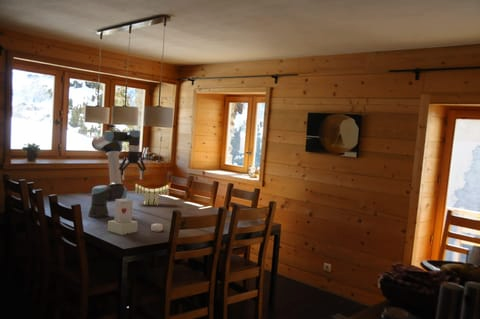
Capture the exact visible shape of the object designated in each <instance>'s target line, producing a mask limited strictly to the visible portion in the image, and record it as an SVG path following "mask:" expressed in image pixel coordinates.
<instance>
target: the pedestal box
mask: <svg viewBox="0 0 480 319" xmlns="http://www.w3.org/2000/svg"><path fill="white" fill-rule="evenodd" d="M138 226H139V222H138V221H136V220H133V219H132V222H124V223H119V222H117V221H115V220H114V219H112V220H108V221H107V231H108V232H111V233H114V234H117V235H121V236H122V235H127V233H128V234H132V233H136V232H138V229H139V228H138Z"/></svg>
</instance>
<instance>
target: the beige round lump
mask: <svg viewBox="0 0 480 319" xmlns="http://www.w3.org/2000/svg"><path fill="white" fill-rule="evenodd" d="M163 227H164V225H163V224H162V223H156V222H155V223H151V226H150V231H152V232H156V233H157V232H162V231H163Z"/></svg>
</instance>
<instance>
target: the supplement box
mask: <svg viewBox="0 0 480 319" xmlns="http://www.w3.org/2000/svg"><path fill="white" fill-rule="evenodd" d="M114 203H115V204H114V219H113V220H115V221H117V222H119V223H124V222H132V220H133V219H132V218H133V203H134V201H133V200H132V199H129V198H125V199H116V200H115V202H114Z"/></svg>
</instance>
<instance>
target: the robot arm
mask: <svg viewBox="0 0 480 319" xmlns="http://www.w3.org/2000/svg"><path fill="white" fill-rule="evenodd" d="M140 140H141V131H140V130H136V129H130V130H129V131H115V130H105V131H104V134H102V135H101V136H96V137H94V138H93V139H92V142H91V146H92V148H93V149H94V150H95V151H97V152H105V155H106V156H107V163H108V172H109V174H108V175H109V184H108V185H105V184H103V185H96V186H94V187H92V189H91V203H90V208H89V211H88V215H87V216H88V217H91V218H107V217H109V214H110V213H109V209H108V203H115V200H116V199H127V195H128V194H127V193H128V189H127V187H126V186H124V183H123V182H122V180H123V181H124V180H125V169H127V168H128V166H129V165H130V164H132V165H133V164H134V165H135V164H136V166H137V167H138V169H139V180H141V181H142V180H143V176H144V172H145V171H146V170H147V168H146V165H145V163H144V161H143V160H144V159H143V157H139V156H140ZM123 143H128V154H127V155H128V156H127V157H125V156H124V157H123V160H122V162H121V163H120V158H119V157H120V156H119V155H120V154H121V152H123Z"/></svg>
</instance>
